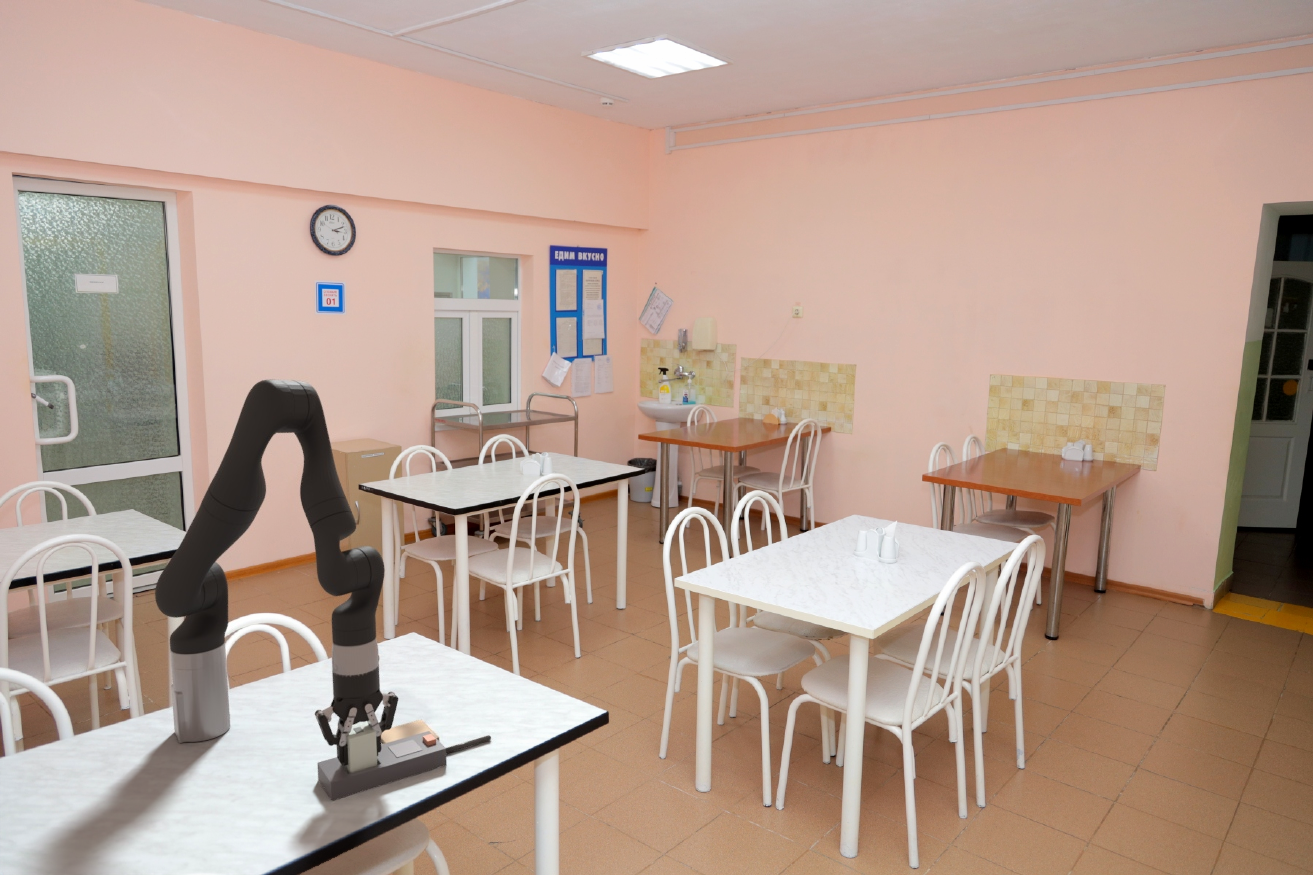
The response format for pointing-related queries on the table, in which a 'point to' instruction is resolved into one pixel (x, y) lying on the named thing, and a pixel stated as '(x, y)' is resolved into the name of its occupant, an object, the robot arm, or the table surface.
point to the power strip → (389, 764)
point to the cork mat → (406, 731)
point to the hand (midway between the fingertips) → (359, 758)
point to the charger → (361, 748)
